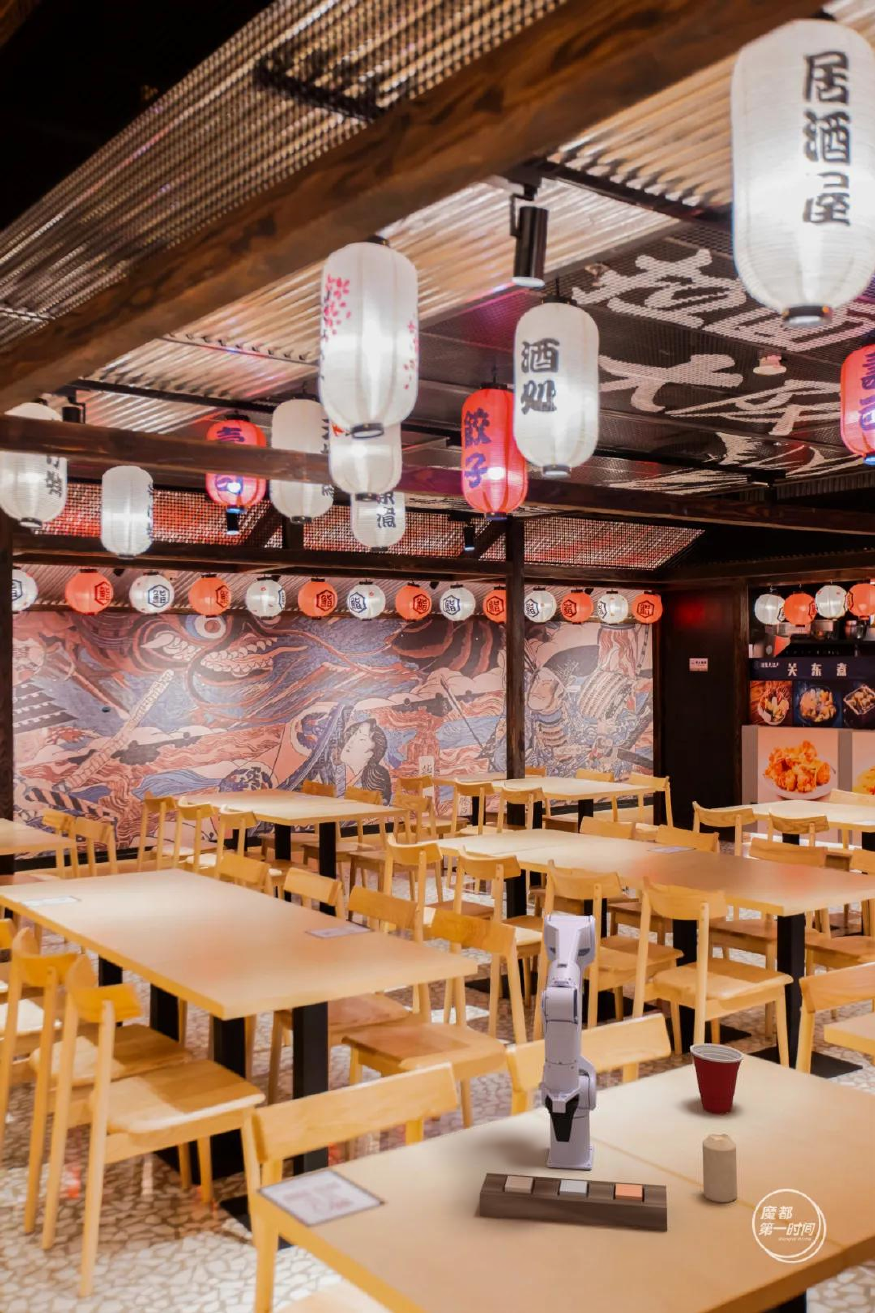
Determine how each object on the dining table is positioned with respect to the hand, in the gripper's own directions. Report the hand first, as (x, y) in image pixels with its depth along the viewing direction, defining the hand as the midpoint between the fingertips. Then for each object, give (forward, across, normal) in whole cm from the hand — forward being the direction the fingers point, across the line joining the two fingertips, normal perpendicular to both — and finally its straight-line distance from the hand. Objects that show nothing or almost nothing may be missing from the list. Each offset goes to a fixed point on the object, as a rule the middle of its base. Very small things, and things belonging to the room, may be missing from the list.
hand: (563, 1140), depth 184 cm
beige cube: (+9, +5, -7) cm, 12 cm away
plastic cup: (+10, -45, +28) cm, 54 cm away
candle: (+10, -5, +26) cm, 28 cm away
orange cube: (+9, +5, +11) cm, 15 cm away
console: (+9, +5, +2) cm, 11 cm away
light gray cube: (+9, +5, +2) cm, 10 cm away
